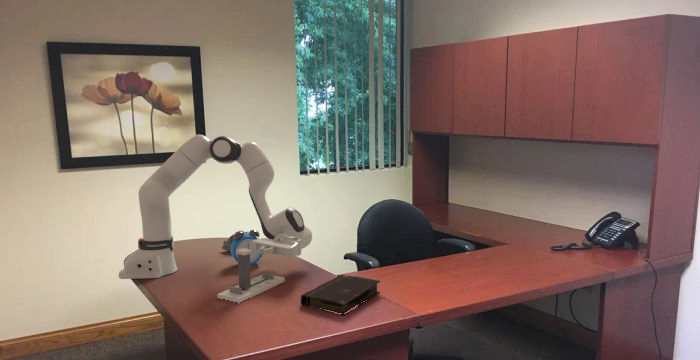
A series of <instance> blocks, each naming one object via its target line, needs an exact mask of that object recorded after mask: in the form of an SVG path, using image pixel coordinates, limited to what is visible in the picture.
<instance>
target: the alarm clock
mask: <svg viewBox="0 0 700 360" xmlns="http://www.w3.org/2000/svg"><path fill="white" fill-rule="evenodd" d="M242 231H243V230H238V231H236V232H235V233H234V234H233V235H234V236H233V239H234V240H233V242H232V244H231V251H230V254H231V257H232V258H233V259H234V260H235V261H236V263H238V254H236V250H239V249H242V248H244V249H250V250H252V249H251V241H252V240H256V239H259V237H260V235H261V234H260V232H259V231H258V230H257V229H251V230H249V231H244V232H245V234H244V233H243V232H242ZM248 232H249V233H250V234H249V233H248ZM263 255H264V254H261V253H259V251H256V250H252V253H250V266H253V265H257V263H259V261H260V260H261V258H262V257H263Z"/></svg>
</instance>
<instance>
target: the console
mask: <svg viewBox="0 0 700 360" xmlns="http://www.w3.org/2000/svg"><path fill="white" fill-rule="evenodd" d="M285 281H286V279H285V277H283V276H279V275H275V274H274V273H270V272H265V271H263V272H262V273H261V274H260V275H259V276H256V277H254V278H251V287H250V288H248V289H246V290H244V289H242V288H239V284H238V285H235V286H234V285H233V286H232V285H231V286H229V289H226V290H224V291H222V292H219V293H217V299H219V298H220V300H223V299H225V300H224V301H227V300H229V301H228V302H231V301H233V302H232V303H235V302H237V303H236V304H241V303H242V301H243V302H244V300H245V301H247V300H249V299H251V298H253V297H255V296H257V295H259V294H261V293H263V292H265V291H268V290H270V289H272V288H274V287H276V286H278V285H280V284H282V283H284V282H285ZM248 298H249V299H248ZM246 299H247V300H246ZM240 302H241V303H240Z"/></svg>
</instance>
